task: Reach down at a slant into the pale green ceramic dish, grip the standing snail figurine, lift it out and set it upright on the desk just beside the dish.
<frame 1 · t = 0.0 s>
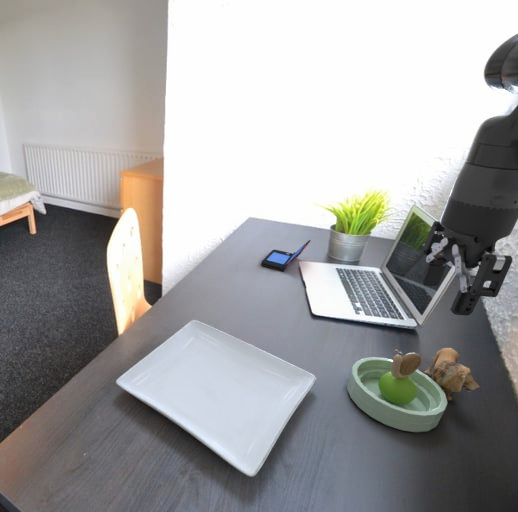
hand: (443, 298, 57), 22 cm above the table, tool pointing down, fingers open, 8 cm apart
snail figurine: (390, 400, 67), resting on dish
square plate: (214, 392, 70), on the table
dish: (389, 401, 67), on the table
handheld console: (283, 263, 117), on the table
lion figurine: (440, 388, 69), on the table
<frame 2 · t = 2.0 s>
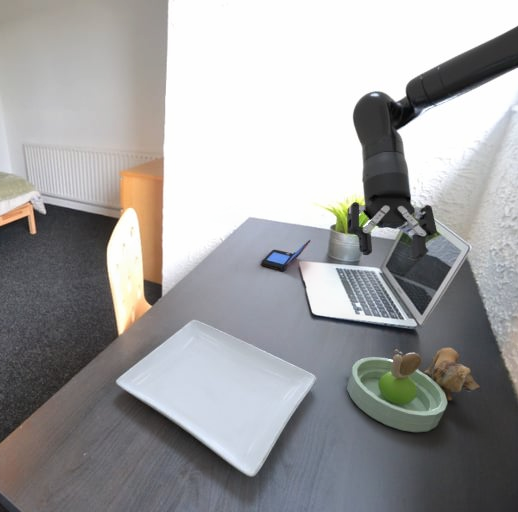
hand: (392, 255, 69), 23 cm above the table, tool tilted 45°, fingers open, 8 cm apart
nothing on the table moved.
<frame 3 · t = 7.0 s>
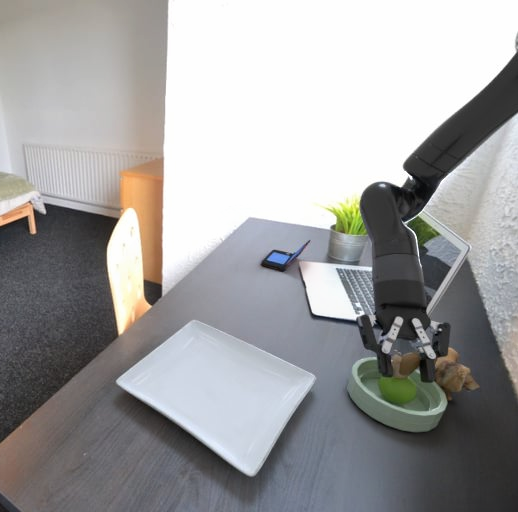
hand: (407, 379, 62), 7 cm above the table, tool tilted 45°, fingers closed on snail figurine, 5 cm apart
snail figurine: (390, 400, 67), resting on dish, touching gripper
everything else where it was.
when the fingers open (7 cm above the table, at t = 15.2 s): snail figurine stays where it is, on the table.
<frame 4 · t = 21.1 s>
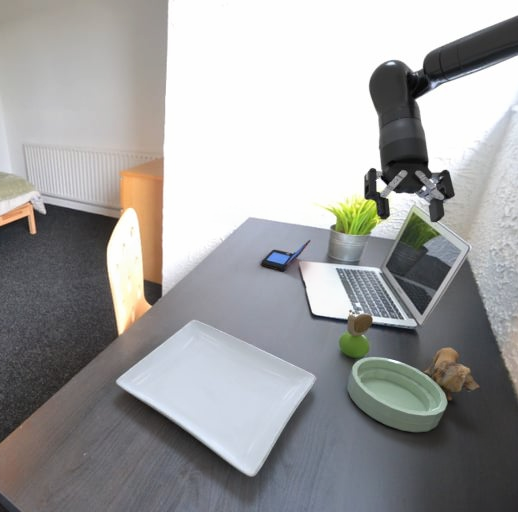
hand: (410, 219, 70), 29 cm above the table, tool tilted 45°, fingers open, 8 cm apart
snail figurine: (348, 355, 78), on the table
everything else where it was.
at the end: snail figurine inside the target area (0.2 cm from its centre), on the table; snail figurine tilted 0°; the gripper is holding nothing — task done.
